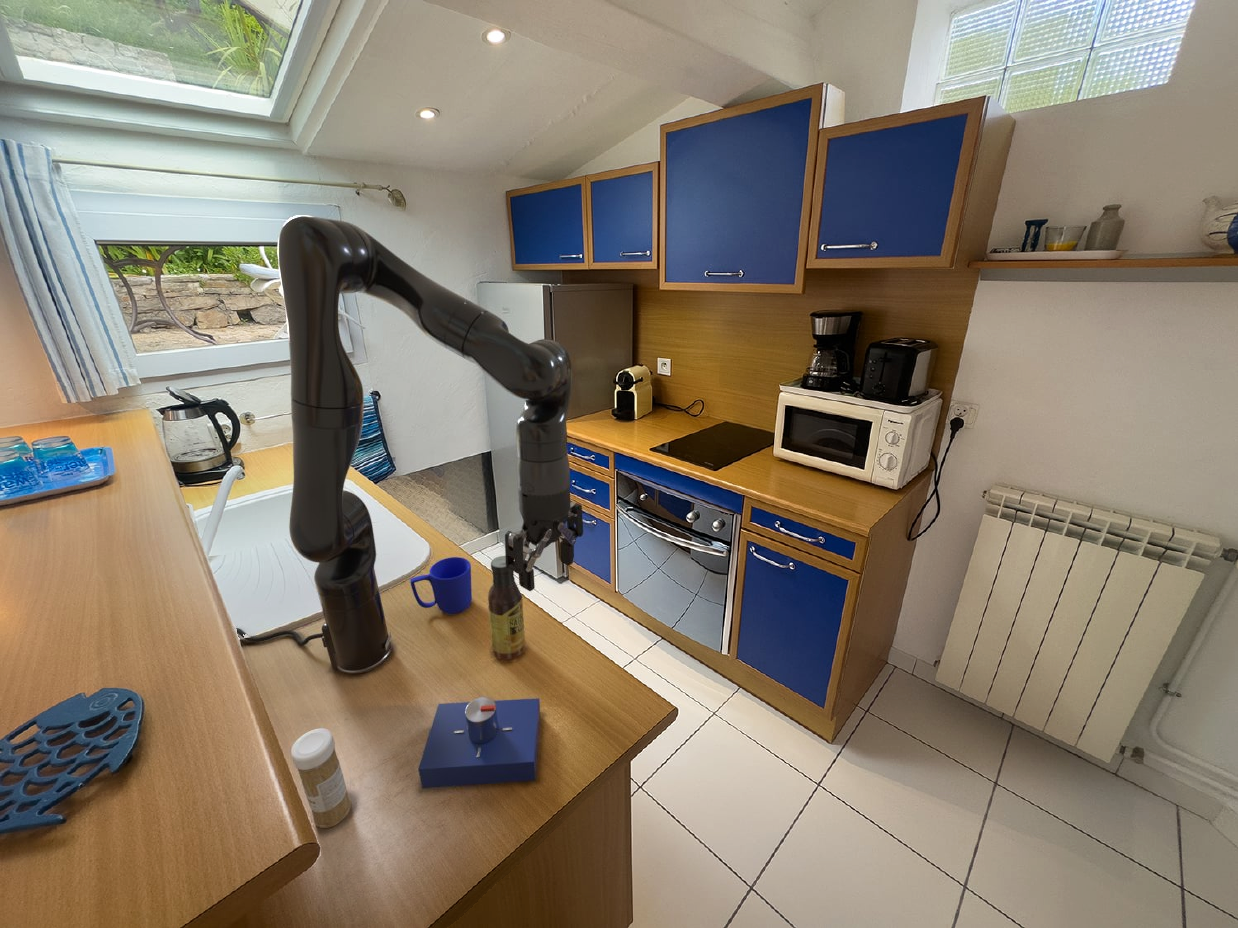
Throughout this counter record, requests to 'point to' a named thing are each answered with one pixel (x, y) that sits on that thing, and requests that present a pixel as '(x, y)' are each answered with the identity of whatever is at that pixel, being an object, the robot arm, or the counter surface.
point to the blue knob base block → (482, 747)
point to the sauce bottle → (505, 612)
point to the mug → (448, 585)
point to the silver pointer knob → (481, 720)
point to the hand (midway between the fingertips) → (548, 575)
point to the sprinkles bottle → (321, 777)
